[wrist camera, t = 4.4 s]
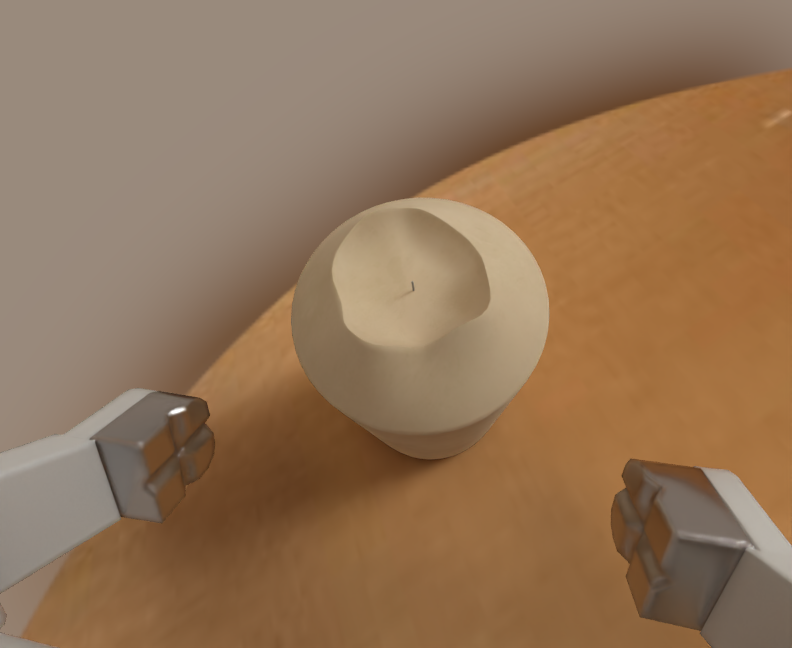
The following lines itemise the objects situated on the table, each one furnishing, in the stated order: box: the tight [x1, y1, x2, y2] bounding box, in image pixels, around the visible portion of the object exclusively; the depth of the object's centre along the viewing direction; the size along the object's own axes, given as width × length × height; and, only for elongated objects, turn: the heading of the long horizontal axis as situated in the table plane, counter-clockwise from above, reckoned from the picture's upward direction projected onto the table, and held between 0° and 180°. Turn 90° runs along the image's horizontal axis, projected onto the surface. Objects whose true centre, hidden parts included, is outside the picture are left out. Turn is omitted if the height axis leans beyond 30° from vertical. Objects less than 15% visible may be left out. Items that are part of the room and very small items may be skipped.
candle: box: [291, 198, 549, 459], centre depth 12 cm, size 6×6×10 cm
